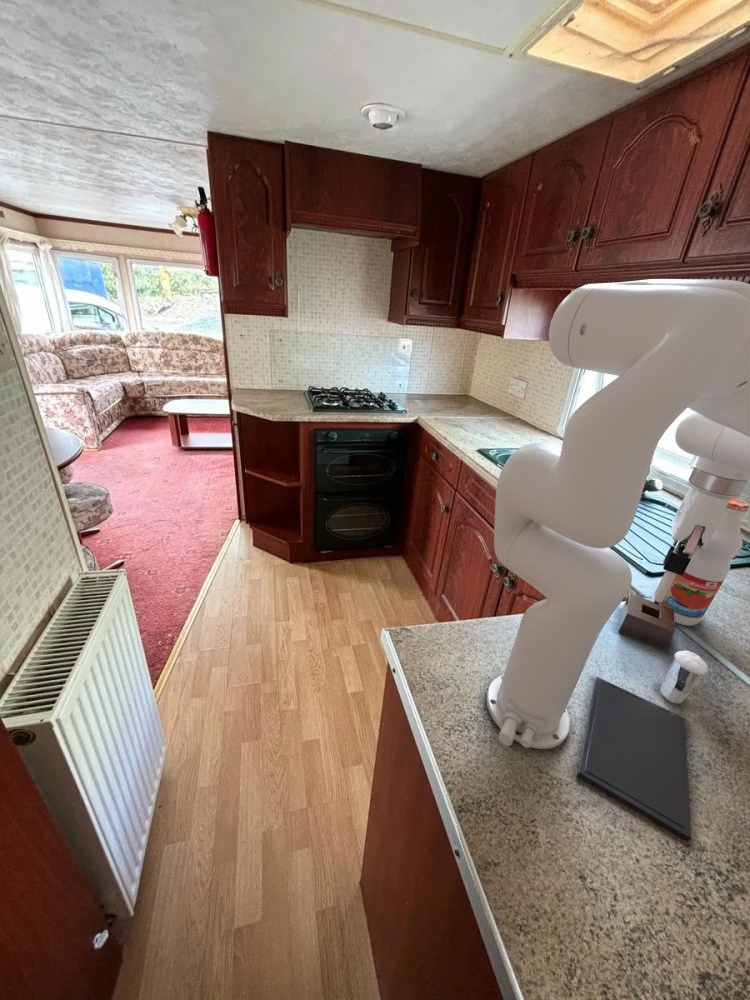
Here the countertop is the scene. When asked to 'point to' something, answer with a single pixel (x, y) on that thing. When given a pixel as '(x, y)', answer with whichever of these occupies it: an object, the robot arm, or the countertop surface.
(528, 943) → the countertop surface
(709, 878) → the countertop surface
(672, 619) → the pen stand
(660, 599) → the stylus
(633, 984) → the countertop surface
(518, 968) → the countertop surface
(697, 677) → the milkshake
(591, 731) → the tablet
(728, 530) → the fruit juice
